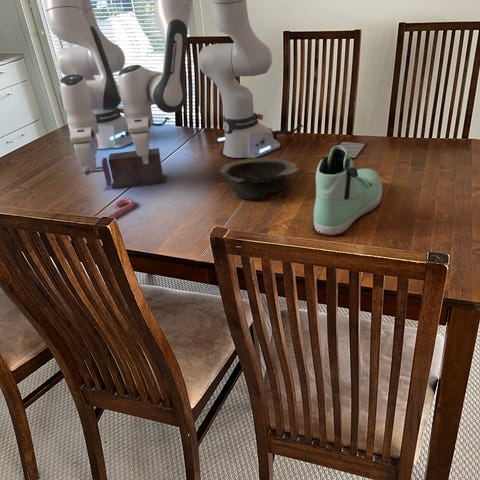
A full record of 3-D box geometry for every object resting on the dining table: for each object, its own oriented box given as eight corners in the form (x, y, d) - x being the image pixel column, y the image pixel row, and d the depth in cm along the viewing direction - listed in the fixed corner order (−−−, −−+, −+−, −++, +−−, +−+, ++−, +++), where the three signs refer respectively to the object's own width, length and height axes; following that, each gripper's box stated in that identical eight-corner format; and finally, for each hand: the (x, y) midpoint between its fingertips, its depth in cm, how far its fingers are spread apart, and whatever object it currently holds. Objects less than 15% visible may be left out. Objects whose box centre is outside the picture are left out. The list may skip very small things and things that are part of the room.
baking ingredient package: (331, 154, 173) (342, 141, 184) (330, 155, 173) (342, 142, 185) (355, 156, 169) (365, 143, 181) (355, 158, 170) (365, 144, 181)
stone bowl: (243, 213, 140) (240, 183, 136) (209, 189, 160) (205, 162, 156) (313, 190, 149) (312, 161, 144) (272, 170, 169) (270, 144, 165)
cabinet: (114, 188, 162) (108, 160, 157) (115, 181, 167) (109, 153, 162) (163, 182, 164) (159, 153, 159) (163, 175, 169) (158, 147, 163)
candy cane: (88, 221, 143) (87, 216, 143) (125, 200, 153) (124, 196, 153) (102, 225, 140) (101, 221, 139) (138, 204, 150) (137, 200, 150)
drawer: (88, 188, 162) (82, 165, 157) (89, 183, 165) (83, 160, 161) (152, 180, 164) (148, 157, 159) (152, 175, 168) (148, 152, 163)
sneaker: (389, 187, 148) (396, 123, 138) (356, 242, 123) (361, 168, 112) (346, 181, 154) (350, 119, 144) (306, 232, 129) (307, 161, 118)
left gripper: (78, 120, 162) (87, 159, 169) (69, 139, 144) (80, 182, 151) (97, 118, 162) (105, 157, 169) (90, 137, 145) (100, 179, 152)
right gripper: (130, 111, 163) (137, 149, 170) (127, 129, 146) (136, 171, 153) (148, 109, 164) (155, 147, 171) (148, 127, 146) (155, 169, 154)
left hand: (93, 169), depth 160 cm, fingers closed
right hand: (146, 159), depth 162 cm, fingers closed on cabinet, 6 cm apart
